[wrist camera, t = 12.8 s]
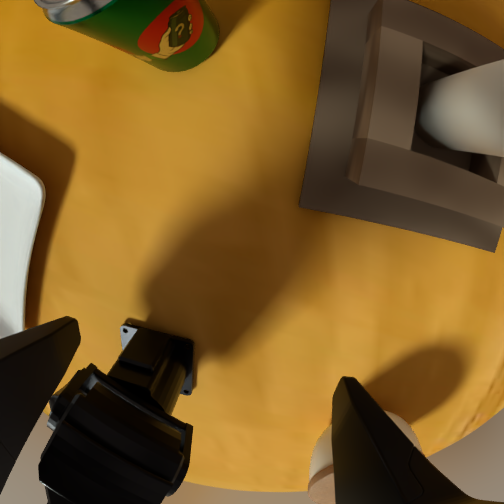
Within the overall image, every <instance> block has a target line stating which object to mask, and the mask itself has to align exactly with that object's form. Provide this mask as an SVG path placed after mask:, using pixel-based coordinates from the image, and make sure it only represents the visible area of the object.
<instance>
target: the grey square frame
mask: <svg viewBox="0 0 504 504" xmlns="http://www.w3.org/2000/svg"><path fill="white" fill-rule="evenodd" d="M503 59H504V49H503V48H501V47H499V46H498V45H496V44H495V43H493V42H492V41H490V40H488V39H487V38H485V37H483V36H482V35H480V34H478V33H476V32H475V31H473V30H471V29H469V28H467V27H465V26H464V25H462V24H460V23H458V22H456V21H454V20H452V19H450V18H448V17H446V16H444V15H441V14H439V13H437V12H435V11H433V10H430V9H428V8H426V7H423V6H421V5H418V4H416V3H413V2H411V1H408V0H331V3H330V11H329V19H328V27H327V35H326V42H325V50H324V57H323V64H322V71H321V78H320V84H319V91H318V97H317V104H316V110H315V116H314V122H313V128H312V134H311V140H310V146H309V152H308V158H307V163H306V169H305V174H304V180H303V185H302V191H301V196H300V201H299V207H301V208H306V209H311V210H317V211H322V212H327V213H332V214H337V215H342V216H347V217H351V218H356V219H361V220H365V221H370V222H375V223H379V224H384V225H388V226H392V227H397V228H401V229H405V230H410V231H414V232H418V233H422V234H426V235H430V236H434V237H438V238H442V239H446V240H450V241H454V242H457V243H461V244H465V245H469V246H472V247H476V248H479V249H483V250H487V251H490V252H494V253H495V250H496V247H497V244H498V241H499V237H500V234H501V230H502V227H504V157H500V156H494V155H487V154H481V153H473V152H466V151H457V150H448V149H439V148H435V147H432V146H430V145H428V144H427V143H425V142H424V141H423V140H422V139H421V138H420V137H419V136H418V134H417V133H416V131H415V129H414V125H415V118H416V111H417V104H418V95H419V87H420V86H422V85H424V84H427V83H430V82H433V81H436V80H439V79H441V78H444V77H447V76H450V75H453V74H456V73H459V72H463V71H466V70H469V69H472V68H475V67H479V66H482V65H485V64H489V63H492V62H496V61H500V60H503Z"/></svg>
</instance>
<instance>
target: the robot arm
mask: <svg viewBox="0 0 504 504" xmlns="http://www.w3.org/2000/svg"><path fill="white" fill-rule="evenodd" d="M125 328H126V329H127V330H128V331H127V330H126V329H125ZM120 332H121V341H122V349H123V351H122V352H121V354H120V355H119V357H118V359H117V361H116V362H115V364H114V365H113V367H112V368H111V369H110V371H109V372H108V374H107V375H106V374H104V373H103V372H101V371H100V370H99V369H97V367H96V366H95V365H94V364H92V363H91V364H90V365H89V366H88V367H87V368H86V369H85V368H83V369H82V370H78V371H77V373H76V374H75V375H74V376H73V378H72V379H71V380H70V381H69V382H68V384H66V385H65V386H64V387H63V388H61V389H60V390H59V391H58V392H56V393H55V394H54V395H53V393H54V391H55V390H56V388H57V386H58V385H59V383H60V382H61V380H62V378H63V376H64V375H65V373H66V371H67V369H68V367H69V365H70V362H71V360H72V358H73V356H74V354H75V352H76V350H77V348H78V346H79V344H80V341H81V336H80V331H79V326H78V321H77V320H76V319H75V318H72V317H69V316H65V317H62V318H59V319H56V320H53V321H50V322H48V323H45V324H42V325H39V326H36V327H33V328H30V329H27V330H24V331H21V332H18V333H15V334H12V335H10V336H7V337H4V338H1V339H0V494H1V492H2V490H3V487H4V485H5V483H6V481H7V479H8V477H9V474H10V472H11V470H12V468H13V466H14V464H15V462H16V461H15V460H17V458H18V456H19V454H20V452H21V450H22V448H23V446H24V444H25V442H26V441H27V439H28V437H29V435H30V433H31V431H32V429H33V427H34V426H35V424H36V422H37V420H38V418H39V417H40V415H41V413H42V412H43V410H44V408H45V407H46V405H47V403H48V401H49V404H50V409H51V412H50V414H49V420H48V422H47V427H49V428H50V429H51V430H53V431H54V432H53V434H52V436H51V437H50V439H49V441H48V443H47V445H46V447H45V449H44V451H43V453H42V454H41V461H40V463H39V465H38V470H39V480H40V482H41V483H42V484H44V485H45V489H46V494H47V499H48V503H47V504H161V503H162V501H163V499H164V497H165V496H171V495H172V494H174V492H176V490H177V489H178V488H179V487H180V485H181V483H182V482H183V480H184V478H185V476H186V473H187V471H188V467H189V463H190V454H191V443H192V433H193V426H192V425H190V424H188V423H184V422H182V421H180V420H178V419H176V418H175V417H173V416H171V415H172V412H173V410H174V407H175V405H176V402H177V399H178V397H179V394H183V395H191V393H192V390H193V369H194V349H195V344H194V342H193V341H192V340H190V339H186V338H182V337H178V336H173V335H169V334H165V333H161V332H157V331H153V330H149V329H146V328H142V327H138V326H135V325H131V324H127V323H124V324H123V325H122V326H121V327H120ZM186 344H188V345H189V346H187V345H186ZM187 390H188V391H187ZM51 396H52V397H51ZM331 443H332V456H333V470H334V486H335V504H504V502H494V501H485V500H478V499H475V498H472V497H470V496H468V495H466V494H465V493H464V492H463V491H461V490H460V489H459V488H458V487H457V486H456V485H455V484H453V483H452V482H451V481H450V480H449V479H448V478H447V477H445V476H444V475H443V474H442V473H441V472H440V471H439V470H438V469H437V468H436V467H435V466H434V465H433V464H432V463H430V461H429V460H428V459H427V458H426V457H425V456H424V455H423V454H422V453H421V452H420V451H419V450H418V448H417V447H416V446H414V444H413V443H412V442H411V441H410V439H409V438H408V437H407V436H406V435H405V434H404V433H403V432H402V430H401V429H400V428H399V427H398V426H397V425H396V424H395V423H394V421H393V420H392V419H391V418H390V417H389V416H388V415H387V414H386V412H385V411H384V410H383V409H382V408H381V407H380V406H379V404H378V403H377V402H376V401H375V400H374V399H373V398H372V396H371V395H370V394H369V393H368V392H367V391H366V390H365V389H364V387H363V386H362V385H361V384H360V383H359V382H358V381H357V379H356V378H354V377H347V376H343V377H342V378H341V379H340V381H339V383H338V385H337V388H336V390H335V392H334V395H333V400H332V431H331Z"/></svg>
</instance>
